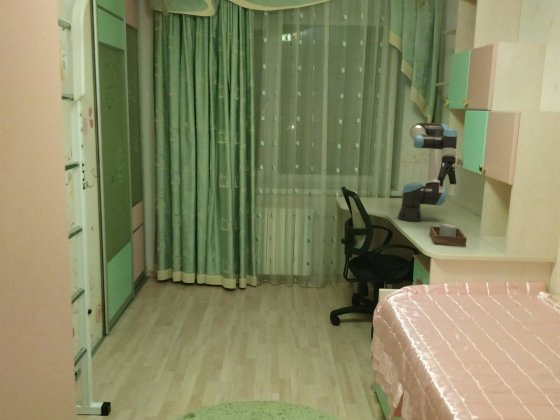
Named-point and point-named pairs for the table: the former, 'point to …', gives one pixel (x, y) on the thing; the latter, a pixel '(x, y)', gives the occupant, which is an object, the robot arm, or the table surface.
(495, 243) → the table surface
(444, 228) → the medicine box
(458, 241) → the walnut box
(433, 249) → the table surface
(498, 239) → the table surface
